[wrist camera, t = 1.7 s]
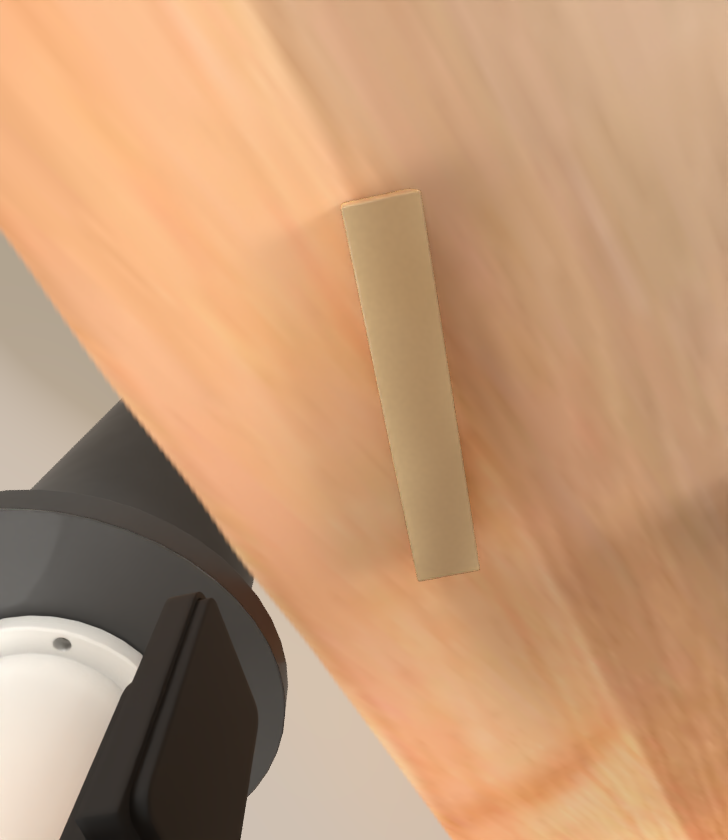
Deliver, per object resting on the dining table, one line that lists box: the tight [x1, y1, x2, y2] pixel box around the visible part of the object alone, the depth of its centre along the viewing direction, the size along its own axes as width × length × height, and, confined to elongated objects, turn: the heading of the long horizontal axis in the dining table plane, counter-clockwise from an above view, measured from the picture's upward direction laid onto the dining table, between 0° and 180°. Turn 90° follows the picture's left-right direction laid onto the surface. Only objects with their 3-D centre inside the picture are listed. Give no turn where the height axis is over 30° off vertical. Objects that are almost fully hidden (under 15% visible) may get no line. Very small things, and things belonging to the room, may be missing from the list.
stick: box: [341, 188, 480, 581], centre depth 25 cm, size 3×16×3 cm, turn 12°
